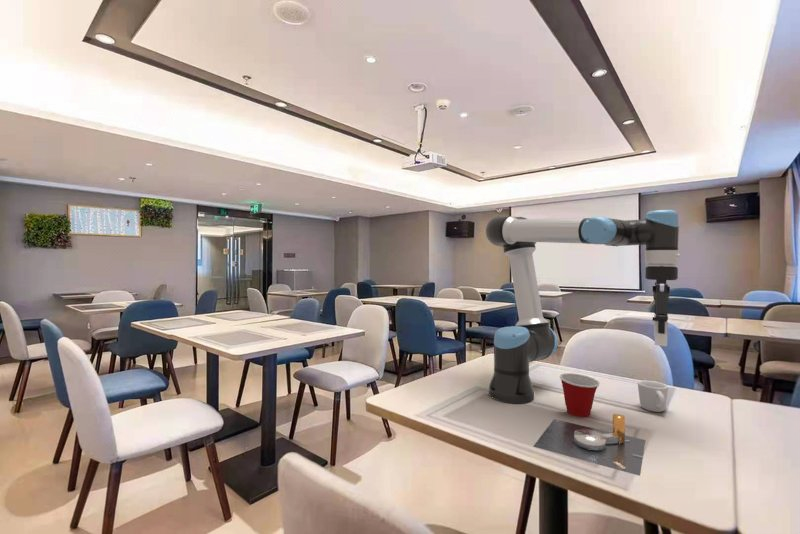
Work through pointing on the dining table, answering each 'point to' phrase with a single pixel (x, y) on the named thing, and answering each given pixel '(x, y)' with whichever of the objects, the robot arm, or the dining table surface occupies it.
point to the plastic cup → (578, 393)
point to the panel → (612, 456)
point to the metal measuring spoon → (601, 435)
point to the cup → (652, 395)
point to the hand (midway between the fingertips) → (660, 341)
